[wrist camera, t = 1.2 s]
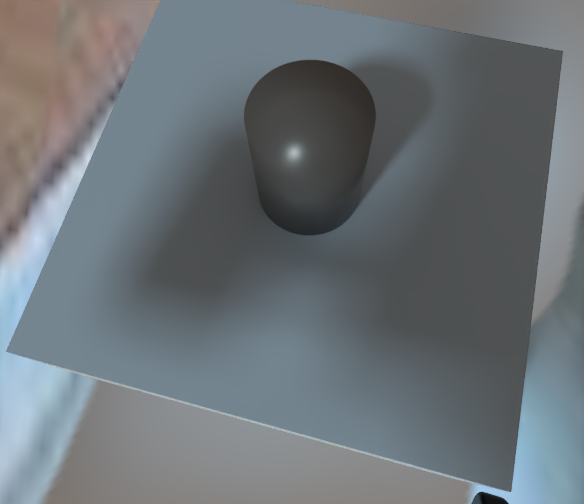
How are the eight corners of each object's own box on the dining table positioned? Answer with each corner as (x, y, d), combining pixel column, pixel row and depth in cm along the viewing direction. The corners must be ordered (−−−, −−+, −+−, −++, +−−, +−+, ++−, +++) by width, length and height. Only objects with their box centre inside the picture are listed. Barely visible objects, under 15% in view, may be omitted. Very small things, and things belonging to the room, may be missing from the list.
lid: (490, 487, 17) (588, 509, 11) (33, 359, 19) (-93, 321, 13) (543, 81, 22) (629, -52, 16) (179, 11, 24) (138, -131, 18)
